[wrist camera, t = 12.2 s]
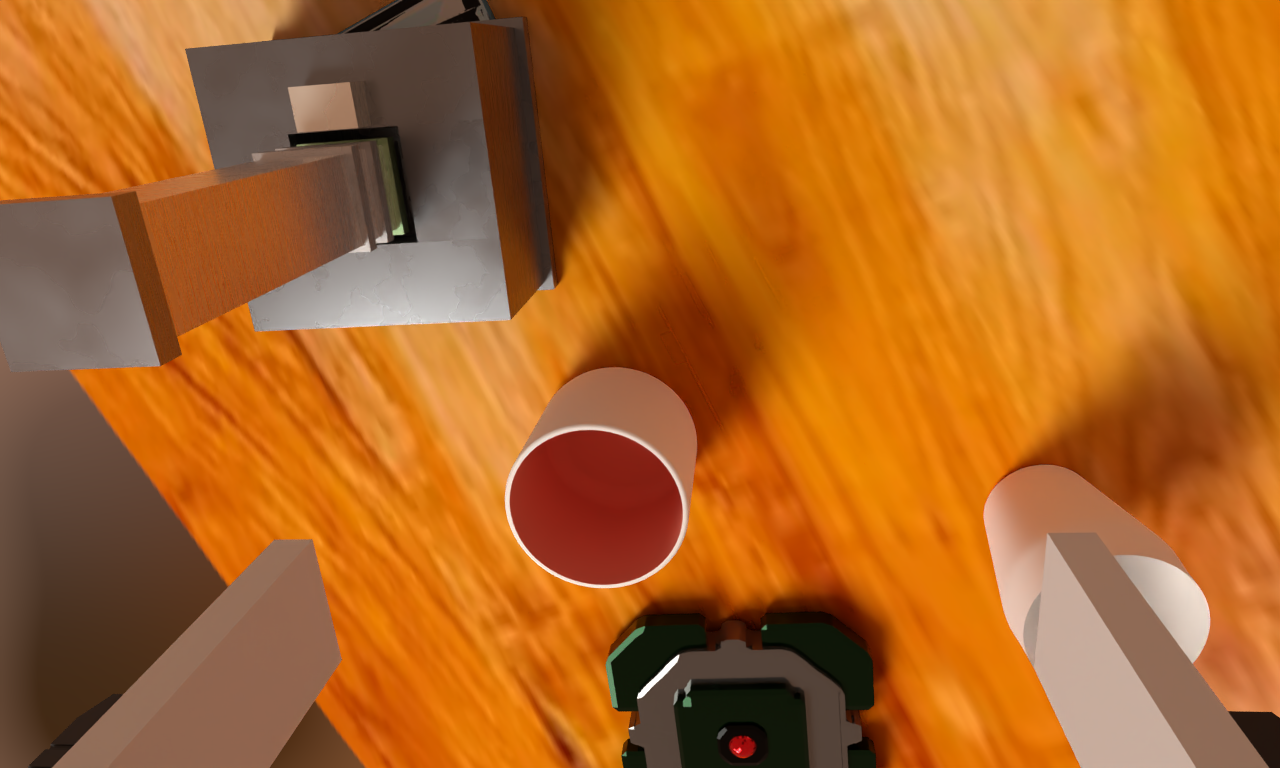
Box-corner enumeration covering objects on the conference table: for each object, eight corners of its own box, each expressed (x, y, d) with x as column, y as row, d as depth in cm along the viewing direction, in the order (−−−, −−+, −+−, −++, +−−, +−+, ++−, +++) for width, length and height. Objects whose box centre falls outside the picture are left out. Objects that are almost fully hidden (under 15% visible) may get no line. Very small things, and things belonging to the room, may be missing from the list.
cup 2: (955, 459, 53) (1011, 566, 42) (1110, 433, 51) (1212, 538, 40) (971, 581, 56) (1028, 712, 45) (1119, 561, 54) (1216, 692, 43)
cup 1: (627, 329, 52) (602, 387, 43) (730, 446, 54) (727, 526, 45) (513, 421, 56) (466, 494, 46) (614, 528, 58) (588, 619, 48)
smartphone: (245, 85, 49) (463, -41, 45) (255, 84, 50) (469, -39, 46) (312, 202, 51) (527, 92, 47) (320, 200, 52) (531, 91, 48)
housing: (271, 41, 49) (152, 37, 39) (526, 17, 47) (468, 7, 37) (325, 296, 54) (232, 349, 44) (557, 285, 52) (514, 337, 42)
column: (312, 139, 43) (-48, 207, 23) (403, 132, 42) (111, 196, 23) (332, 234, 45) (11, 371, 25) (420, 228, 44) (160, 365, 24)
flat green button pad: (605, 605, 60) (594, 647, 56) (866, 596, 58) (875, 639, 53) (636, 800, 66) (628, 850, 62) (873, 800, 64) (882, 853, 59)
